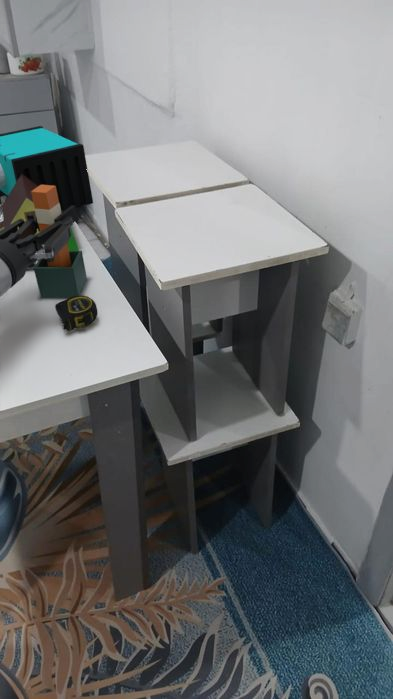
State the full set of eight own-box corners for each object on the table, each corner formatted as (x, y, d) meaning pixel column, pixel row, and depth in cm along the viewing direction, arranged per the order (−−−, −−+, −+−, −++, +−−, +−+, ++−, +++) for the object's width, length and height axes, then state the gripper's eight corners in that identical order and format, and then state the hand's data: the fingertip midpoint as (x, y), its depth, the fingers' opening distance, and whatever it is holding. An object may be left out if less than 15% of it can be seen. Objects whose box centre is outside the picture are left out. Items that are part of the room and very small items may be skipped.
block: (49, 273, 103) (30, 191, 94) (58, 264, 106) (40, 184, 96) (63, 275, 102) (46, 192, 93) (72, 266, 105) (56, 185, 95)
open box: (40, 298, 104) (33, 268, 100) (50, 279, 110) (44, 250, 106) (79, 298, 104) (73, 268, 100) (87, 279, 109) (81, 250, 105)
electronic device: (-35, 202, 144) (-52, 144, 135) (52, 180, 155) (41, 125, 146) (-1, 232, 127) (-19, 168, 118) (94, 205, 138) (84, 144, 129)
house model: (-7, 266, 114) (-24, 208, 107) (-9, 229, 130) (-24, 177, 122) (79, 251, 118) (69, 195, 111) (67, 217, 134) (58, 166, 126)
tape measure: (57, 316, 99) (52, 299, 97) (93, 307, 101) (90, 290, 99) (64, 336, 94) (60, 319, 92) (103, 326, 96) (100, 309, 94)
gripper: (-43, 285, 89) (32, 226, 107) (43, 297, 85) (107, 234, 103) (-58, 243, 85) (23, 189, 102) (32, 254, 80) (101, 195, 98)
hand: (65, 211), depth 102 cm, fingers closed on block, 3 cm apart
